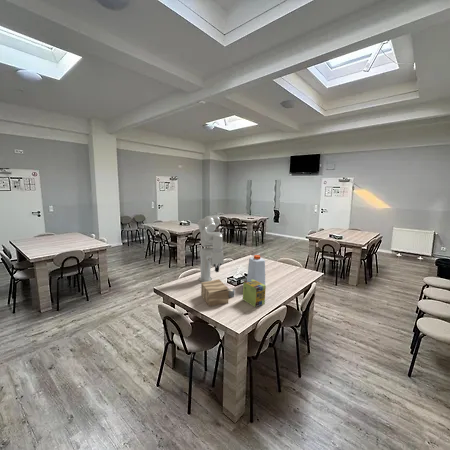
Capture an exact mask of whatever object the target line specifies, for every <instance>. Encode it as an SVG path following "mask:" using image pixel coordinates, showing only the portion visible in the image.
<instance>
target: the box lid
mask: <svg viewBox="0 0 450 450" xmlns="http://www.w3.org/2000/svg"><path fill="white" fill-rule="evenodd" d="M201 284H202V285H203V286H204V287H205V289H206V290H207V291H208V292H209V293H214V292H218V291H223V290H228V289H230V288H229V287H228V286H227V285H226V284H225V283H224V282H222V280H221V279H212V280H211V281H208V282H201ZM201 284H200V285H201Z"/></svg>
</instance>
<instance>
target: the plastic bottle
mask: <svg viewBox="0 0 450 450" xmlns="http://www.w3.org/2000/svg"><path fill="white" fill-rule="evenodd" d="M252 279H253V280H255V281H258V282H260V283H262V284H264V285H266V261H265V259H264V258H263V257H261V255H259V254H256V255H255V254H254V255H253V257H249V259H248V265H247V277H246V281H249V280H252Z"/></svg>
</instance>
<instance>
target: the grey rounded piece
mask: <svg viewBox="0 0 450 450" xmlns="http://www.w3.org/2000/svg"><path fill="white" fill-rule="evenodd" d="M228 290H229V296H228V298H234V297H235V295H236V294H235V293H236V292H235V291H236V290H235V289H234V288H229V289H228Z"/></svg>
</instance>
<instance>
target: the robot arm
mask: <svg viewBox="0 0 450 450" xmlns="http://www.w3.org/2000/svg"><path fill="white" fill-rule="evenodd" d="M220 223H221V219H220V217H219V216H218V215H207V216H205V217H204V218H201V219H199V220H198V222H197V226H198V230H199V232H200V244H201V246H202V247H204V248H201V249H200V250H199V257H200V277H199V278H198V280H199V282H201V283H202V282H208V281H213V278H212V277H211V266H213V267H214V272H215V273H219V271H220V267H221V266H222V265H224V262H225V257H224V255H225V254H224V251H223V250H225V248H224V247H223V234H222V232H220V231H215V230H216V229H217V227H218V226H219V225H220Z"/></svg>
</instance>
